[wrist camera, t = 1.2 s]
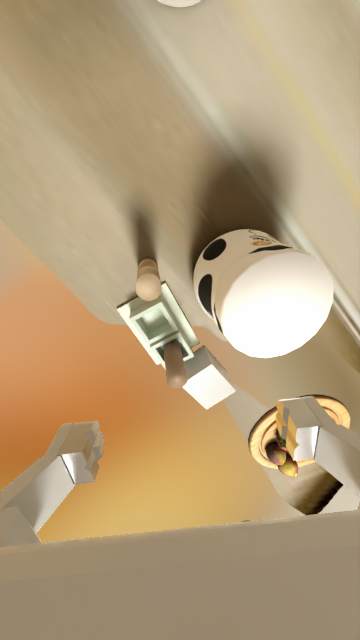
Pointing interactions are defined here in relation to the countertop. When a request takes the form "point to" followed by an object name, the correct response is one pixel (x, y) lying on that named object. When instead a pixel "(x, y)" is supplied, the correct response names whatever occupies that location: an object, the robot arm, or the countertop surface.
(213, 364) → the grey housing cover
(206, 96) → the countertop surface
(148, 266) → the beech peg
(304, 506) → the countertop surface
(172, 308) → the pin board
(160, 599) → the robot arm
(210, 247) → the milk container
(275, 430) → the wooden plate with food
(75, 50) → the countertop surface
